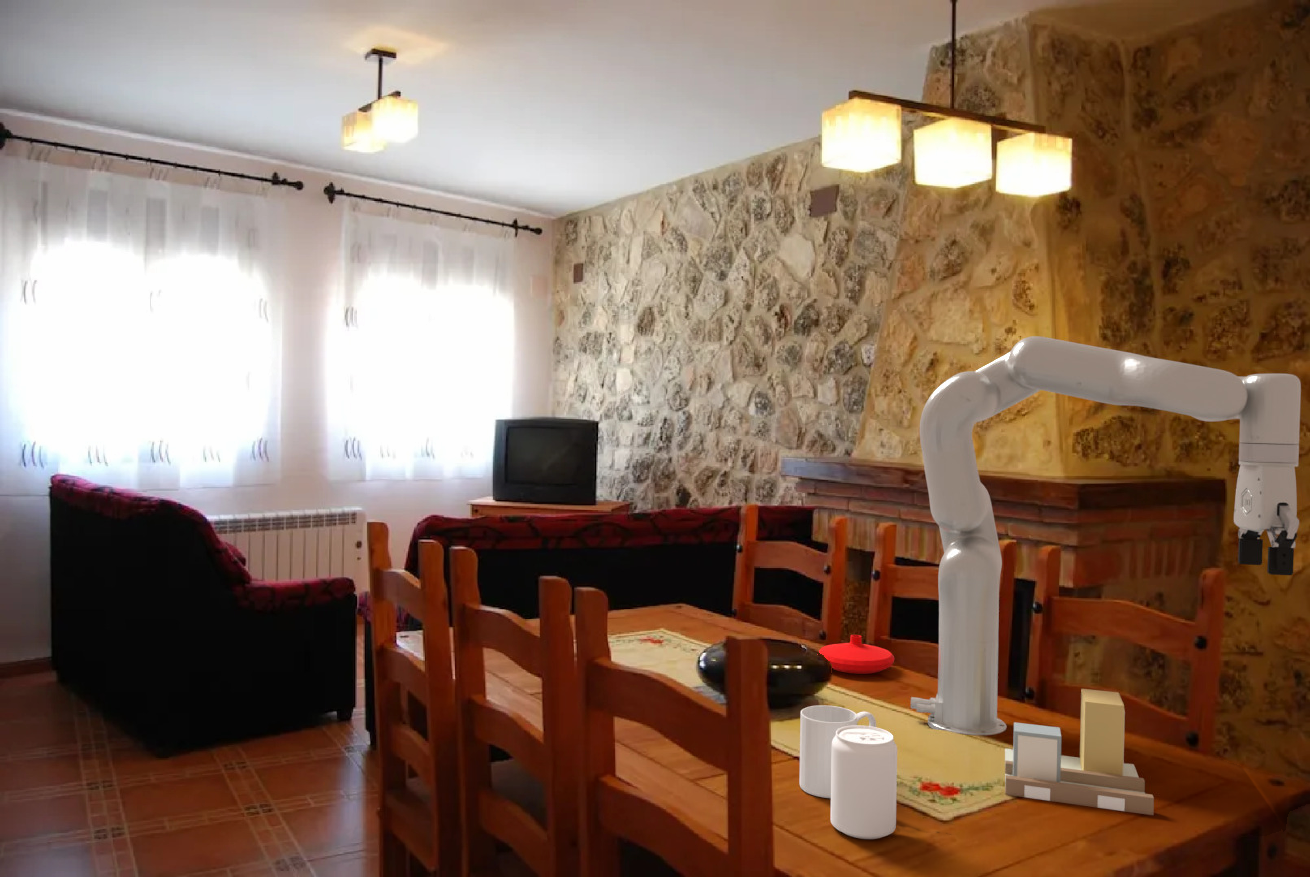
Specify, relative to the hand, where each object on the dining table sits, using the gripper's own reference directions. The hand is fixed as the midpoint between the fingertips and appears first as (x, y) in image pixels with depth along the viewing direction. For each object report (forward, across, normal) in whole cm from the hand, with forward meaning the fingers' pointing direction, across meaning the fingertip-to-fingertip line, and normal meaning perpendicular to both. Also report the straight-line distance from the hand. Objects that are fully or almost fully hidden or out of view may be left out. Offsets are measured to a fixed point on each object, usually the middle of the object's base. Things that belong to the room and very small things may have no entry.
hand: (1264, 569), depth 142 cm
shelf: (+30, +13, -30) cm, 44 cm away
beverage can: (+31, +34, -60) cm, 75 cm away
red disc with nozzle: (+31, -44, -58) cm, 79 cm away
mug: (+31, +21, -62) cm, 73 cm away
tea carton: (+29, +10, -25) cm, 40 cm away
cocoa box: (+29, +18, -36) cm, 49 cm away
